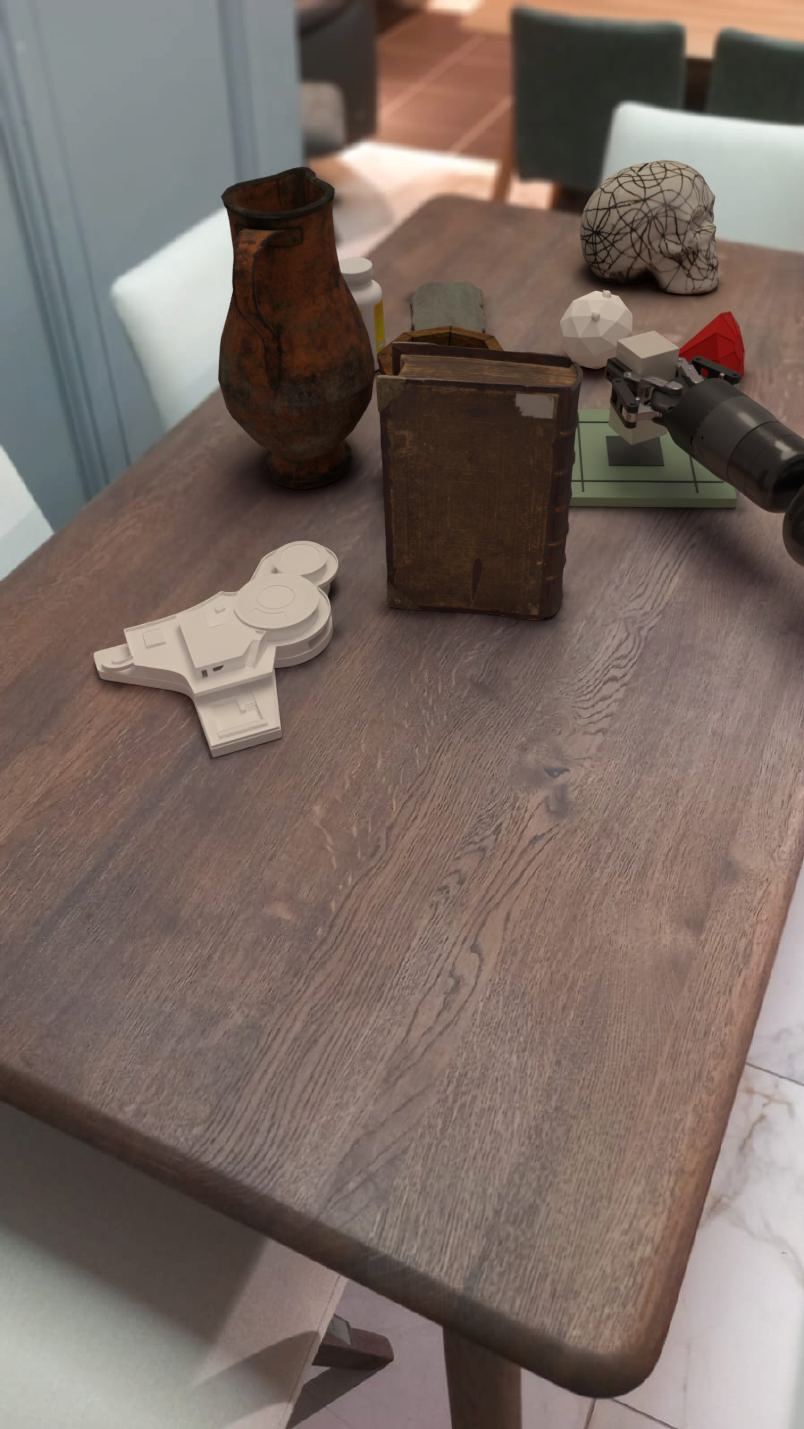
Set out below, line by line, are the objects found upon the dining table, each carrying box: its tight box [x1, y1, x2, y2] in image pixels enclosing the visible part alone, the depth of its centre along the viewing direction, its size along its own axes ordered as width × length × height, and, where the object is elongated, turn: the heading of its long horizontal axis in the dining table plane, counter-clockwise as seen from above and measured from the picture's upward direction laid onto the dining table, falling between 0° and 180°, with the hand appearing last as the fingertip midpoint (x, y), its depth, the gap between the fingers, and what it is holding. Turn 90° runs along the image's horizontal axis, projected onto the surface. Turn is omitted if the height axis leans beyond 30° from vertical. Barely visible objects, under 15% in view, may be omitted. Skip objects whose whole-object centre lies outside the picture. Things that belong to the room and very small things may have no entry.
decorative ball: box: [559, 289, 634, 370], centre depth 136 cm, size 9×10×12 cm
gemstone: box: [678, 310, 746, 380], centre depth 135 cm, size 9×9×10 cm
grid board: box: [569, 408, 738, 509], centre depth 123 cm, size 20×18×1 cm
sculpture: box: [579, 159, 720, 295], centre depth 150 cm, size 15×20×15 cm
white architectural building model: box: [93, 540, 340, 759], centre depth 101 cm, size 23×25×4 cm
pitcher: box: [217, 166, 376, 490], centre depth 113 cm, size 17×21×30 cm
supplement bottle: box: [338, 256, 387, 372], centre depth 136 cm, size 7×7×13 cm
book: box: [375, 342, 584, 621], centre depth 98 cm, size 17×7×25 cm, turn 73°
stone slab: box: [410, 281, 487, 333], centre depth 146 cm, size 22×3×10 cm
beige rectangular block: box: [608, 330, 680, 445], centre depth 117 cm, size 5×5×10 cm
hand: (630, 360), depth 117 cm, fingers closed on beige rectangular block, 4 cm apart
